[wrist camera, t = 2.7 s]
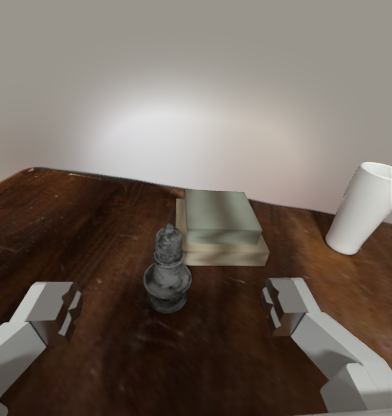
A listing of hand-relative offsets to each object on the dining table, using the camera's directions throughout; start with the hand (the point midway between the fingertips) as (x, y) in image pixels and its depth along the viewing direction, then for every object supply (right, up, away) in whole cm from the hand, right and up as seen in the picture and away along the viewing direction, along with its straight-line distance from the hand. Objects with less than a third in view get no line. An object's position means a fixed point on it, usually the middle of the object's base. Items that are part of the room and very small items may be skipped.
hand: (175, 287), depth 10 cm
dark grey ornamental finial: (-3, -8, +20) cm, 22 cm away
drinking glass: (+27, -4, +31) cm, 42 cm away
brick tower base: (+4, -1, +30) cm, 31 cm away
